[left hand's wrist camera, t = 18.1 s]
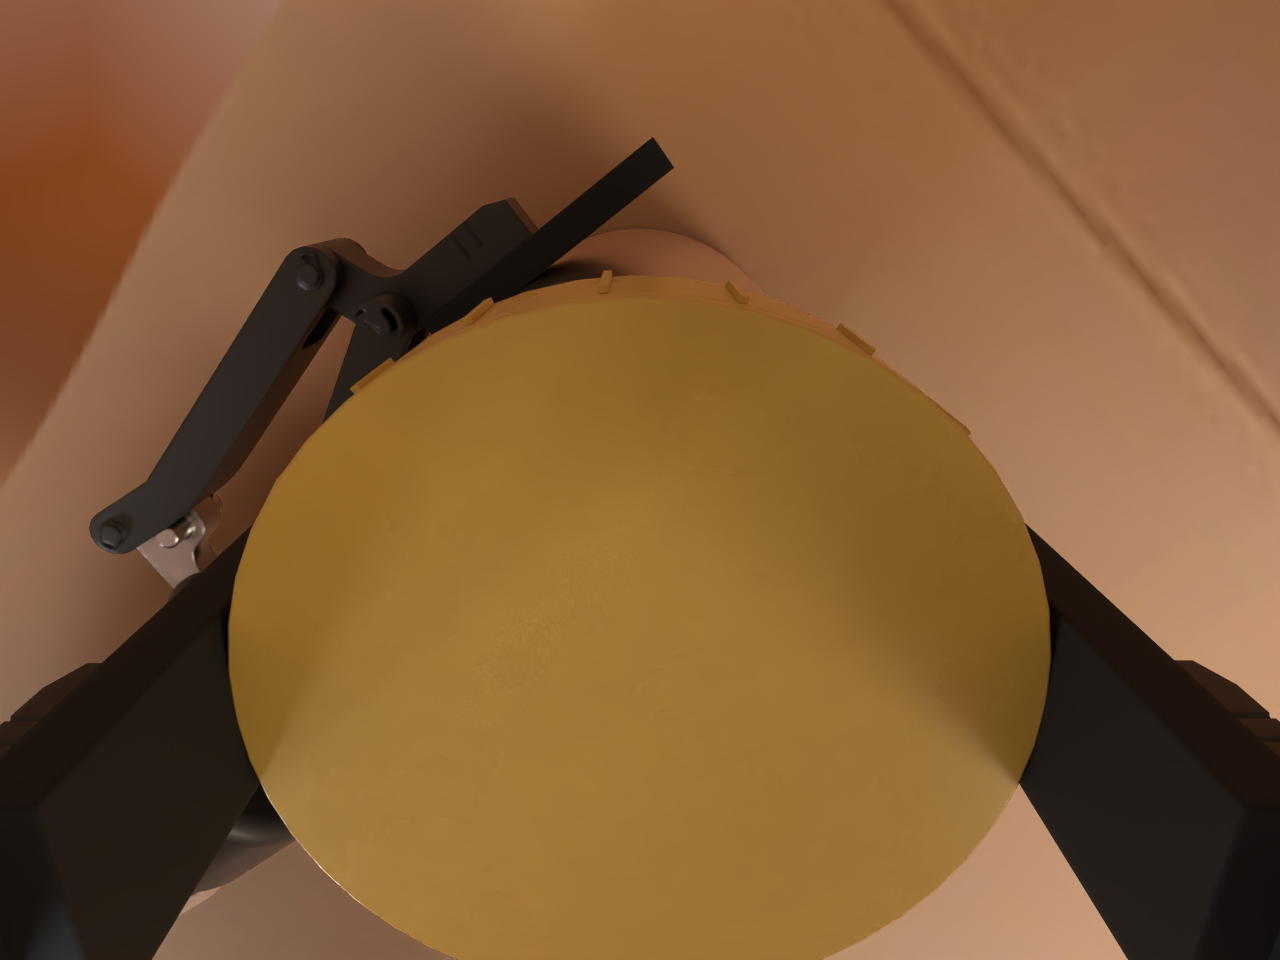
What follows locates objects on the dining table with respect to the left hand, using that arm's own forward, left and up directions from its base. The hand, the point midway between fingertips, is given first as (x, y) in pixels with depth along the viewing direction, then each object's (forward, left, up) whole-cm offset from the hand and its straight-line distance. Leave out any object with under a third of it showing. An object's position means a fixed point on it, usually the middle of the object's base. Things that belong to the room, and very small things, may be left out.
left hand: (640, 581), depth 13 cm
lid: (0, 0, +3) cm, 3 cm away
